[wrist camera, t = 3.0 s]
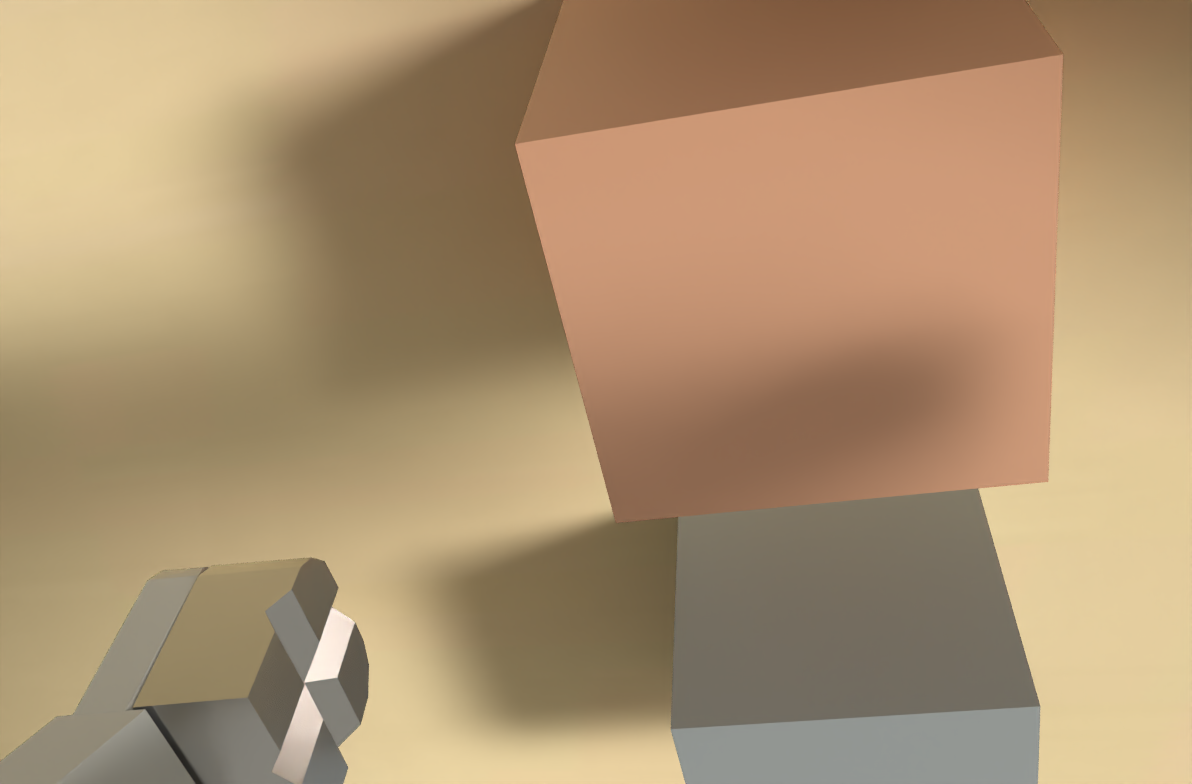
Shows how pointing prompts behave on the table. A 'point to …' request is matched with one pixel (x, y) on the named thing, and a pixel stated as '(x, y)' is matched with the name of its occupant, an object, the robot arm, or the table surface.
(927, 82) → the terracotta block
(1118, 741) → the table surface
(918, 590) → the slate block
